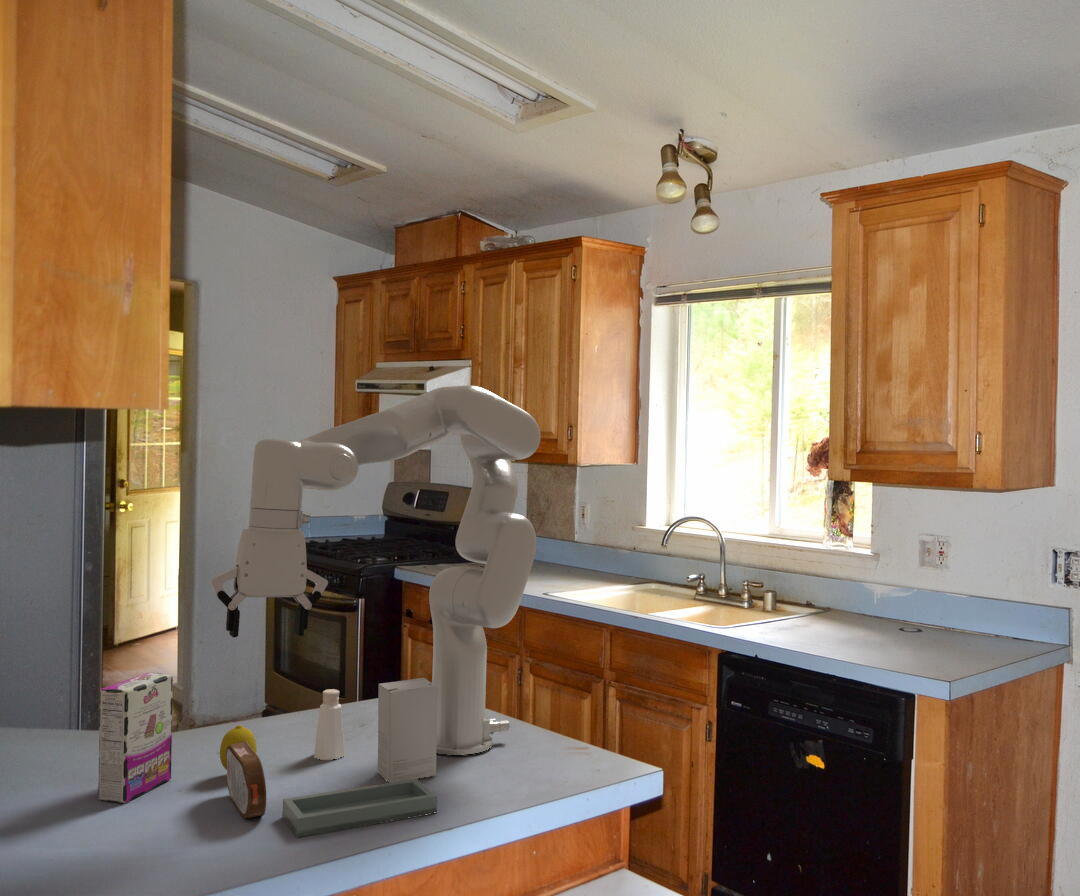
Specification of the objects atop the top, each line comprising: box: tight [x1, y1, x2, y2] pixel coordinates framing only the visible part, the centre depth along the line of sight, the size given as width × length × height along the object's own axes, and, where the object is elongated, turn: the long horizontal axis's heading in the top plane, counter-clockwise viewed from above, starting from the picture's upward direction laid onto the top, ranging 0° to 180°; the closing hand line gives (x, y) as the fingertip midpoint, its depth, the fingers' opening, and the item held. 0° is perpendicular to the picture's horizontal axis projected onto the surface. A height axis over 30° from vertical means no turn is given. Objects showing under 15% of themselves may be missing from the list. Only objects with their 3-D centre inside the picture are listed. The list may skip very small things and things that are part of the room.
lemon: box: [219, 724, 258, 771], centre depth 149 cm, size 6×6×8 cm
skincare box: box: [377, 677, 438, 783], centre depth 151 cm, size 8×6×15 cm
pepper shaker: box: [313, 688, 345, 761], centre depth 160 cm, size 5×5×11 cm
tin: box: [226, 741, 267, 819], centre depth 136 cm, size 15×3×8 cm, turn 30°
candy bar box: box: [97, 672, 174, 804], centre depth 142 cm, size 11×5×16 cm, turn 167°
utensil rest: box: [281, 779, 438, 838], centre depth 134 cm, size 20×8×2 cm, turn 119°
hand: (266, 635), depth 142 cm, fingers open, 9 cm apart
